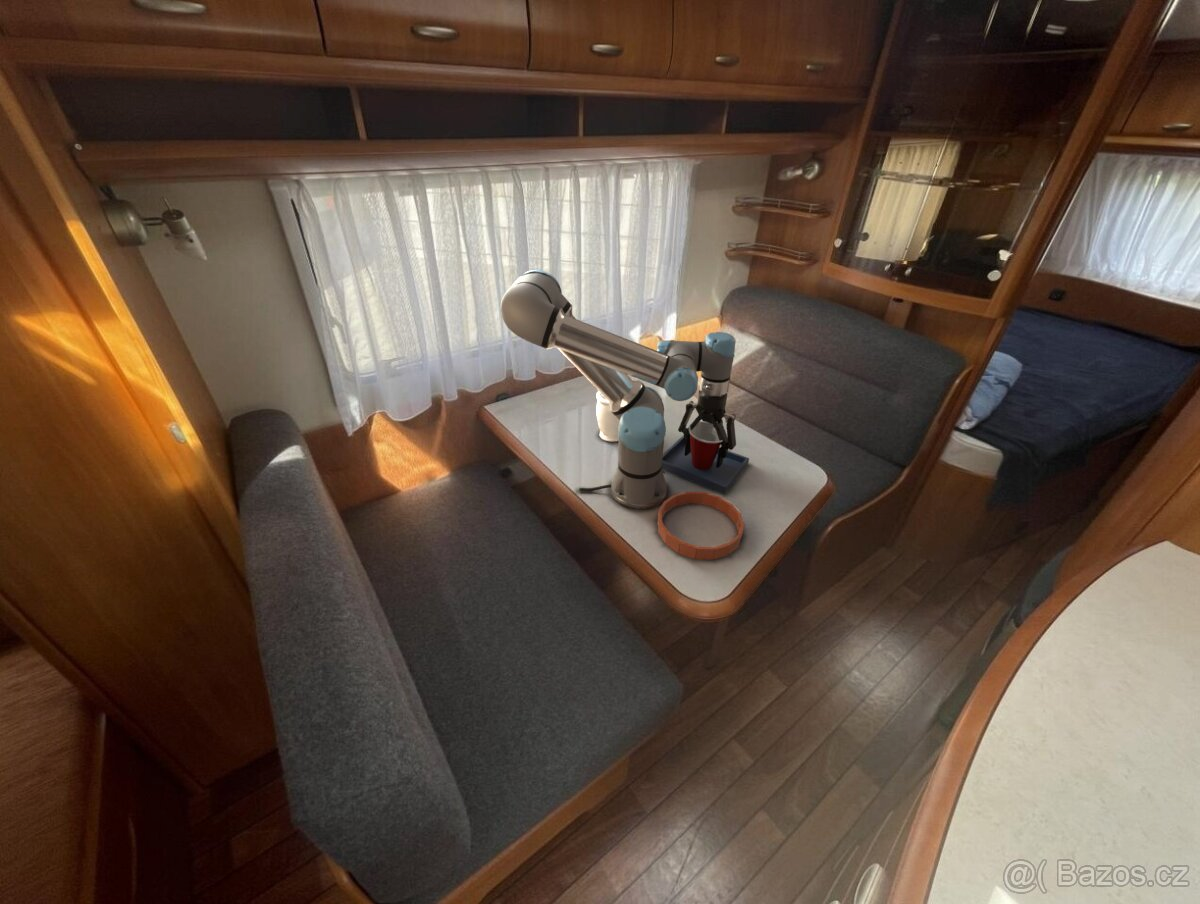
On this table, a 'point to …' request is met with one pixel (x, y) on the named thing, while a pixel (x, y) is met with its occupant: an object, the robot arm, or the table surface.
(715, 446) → the plastic cup
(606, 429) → the jar
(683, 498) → the ring
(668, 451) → the tray
